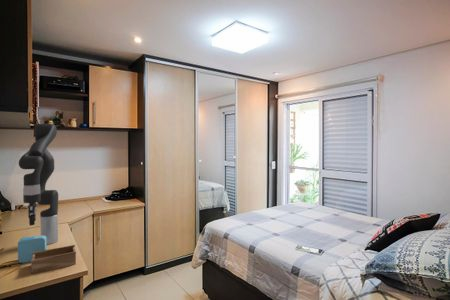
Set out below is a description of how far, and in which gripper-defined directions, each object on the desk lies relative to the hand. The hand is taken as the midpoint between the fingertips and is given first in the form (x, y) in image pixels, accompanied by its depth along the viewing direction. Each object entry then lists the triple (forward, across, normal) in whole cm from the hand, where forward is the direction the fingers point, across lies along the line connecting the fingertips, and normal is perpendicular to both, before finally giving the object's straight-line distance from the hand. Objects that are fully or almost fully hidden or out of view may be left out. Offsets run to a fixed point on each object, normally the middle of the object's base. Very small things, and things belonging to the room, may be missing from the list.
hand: (32, 223), depth 143 cm
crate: (+20, +13, +10) cm, 26 cm away
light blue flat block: (+20, 0, 0) cm, 20 cm away
